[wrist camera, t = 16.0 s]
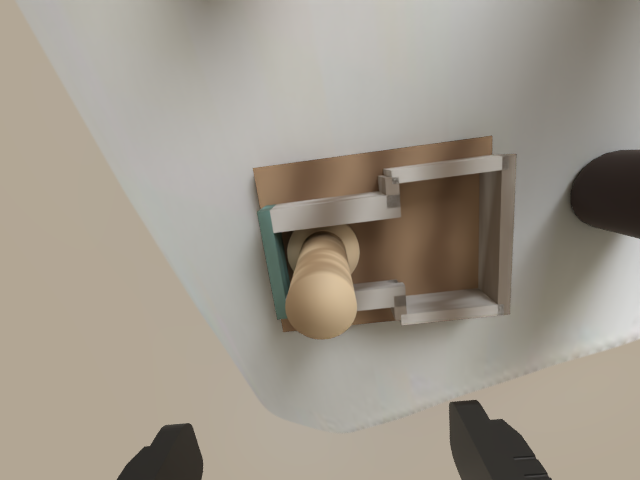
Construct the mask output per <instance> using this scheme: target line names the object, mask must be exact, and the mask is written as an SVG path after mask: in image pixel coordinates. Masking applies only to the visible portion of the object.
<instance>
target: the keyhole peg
mask: <svg viewBox="0 0 640 480" xmlns="http://www.w3.org/2000/svg"><path fill="white" fill-rule="evenodd" d="M359 255H360V249H359V243H358V240H357V238H356V235H355V233H354V232H353V230H352V229H351V227H350V226H349V225H348V224H342V225H334V226H326V227H318V228H310V229H302V230H294V232H293V233H292V235H291V237H290V240H289V243H288V247H287V256H288V261H289V264H290V266H291V268H292V270H293V271H294V274H293V278H292V281H291V284H290V288H289V291H288V295H287V298H286V303H285V310H286V315H287V318H288V320H289V322H290V323H291V325H292V326H293V327H294V328H295V329H296V330H297V331H298V332H299V333H301V334H303V335H305V336H307V337H310V338H314V339H330V338H333V337H336V336H339V335H340V334H342V333H344V332H345V331H346V330H347V329H348V328H349V327H350V326H351V325H352V323H353V321H354V319H355V317H356V313H357V302H356V297H355V292H354V287H353V282H352V277H351V274H352V273H353V271H354V270H355V268H356V266H357V264H358V261H359Z"/></svg>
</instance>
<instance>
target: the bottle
mask: <svg viewBox="0 0 640 480" xmlns="http://www.w3.org/2000/svg"><path fill="white" fill-rule="evenodd" d="M571 205H572V207H573V210H574V213H575V214H576V215H577V216H578V218H579V219H580V220H581V221H583V222H584V223H586V224H588V225H590V226H593V227H596V228H600V229H604V230H608V231H612V232H616V233H620V234H624V235H628V236H631V237H635V238H639V239H640V150H620V151H615V152H610V153H606V154H604V155H602V156H600V157H598V158H596V159H594V160H592V161H591V162H590V163H589V164H588V165H587V166H586V167H584V168H583V169H582V171H581V172H580V174H579V175H578V177H577V178H576V180H575V182H574V185H573V188H572V191H571Z"/></svg>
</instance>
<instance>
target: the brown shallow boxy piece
mask: <svg viewBox="0 0 640 480" xmlns="http://www.w3.org/2000/svg"><path fill="white" fill-rule="evenodd" d="M516 155H517V154H497V155H492V136H486V137H479V138H472V139H464V140H457V141H450V142H442V143H435V144H428V145H420V146H413V147H405V148H398V149H391V150H383V151H376V152H369V153H361V154H354V155H347V156H339V157H332V158H325V159H317V160H310V161H303V162H295V163H288V164H281V165H273V166H266V167H258V168H253V172H254V177H255V182H256V188H257V193H258V198H259V204H260V210H259V211H258V212H257V215H258V220H259V225H260V231H261V236H262V241H263V246H264V252H265V257H266V262H267V268H268V273H269V278H270V283H271V289H272V294H273V299H274V305H275V310H276V315H277V320H278V319H281V322H282V328H283V332H289V331H297V330H296V329H295V328H294V327H293V326H292V325H291V323H290V322H289V320H288V318H287V315H286V310H285V303H286V298H287V295H288V291H289V288H290V284H291V281H292V278H293V274H294V271H293V270H292V268H291V266H290V264H289V261H288V256H287V247H288V243H289V240H290V237H291V235H292V233H293V232H294V230H302V229H310V228H318V227H326V226H334V225H342V224H348V225H349V226H350V227H351V229H352V230H353V232H354V233H355V235H356V238H357V240H358V243H359V249H360V255H359V261H358V264H357V266H356V268H355V270H354V271H353V273H352V274H351V277H352V282H353V287H354V292H355V297H356V302H357V313H356V317H355V319H354V321H353V323H352V325H356V324H366V323H375V322H385V321H400V323H401V325H410V324H420V323H430V322H440V321H449V320H459V319H469V318H478V317H488V316H498V315H508V314H510V298H511V274H512V250H513V227H514V203H515V179H516Z"/></svg>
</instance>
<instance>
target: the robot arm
mask: <svg viewBox="0 0 640 480" xmlns="http://www.w3.org/2000/svg"><path fill="white" fill-rule="evenodd" d="M449 420H450V445H451V450H452V455H453V458H454V462H455V464H456V467H457V470H458V472H459V475H460V477H461V479H462V480H552V479H551V478H549V477H548V474H547V472H546V470H545V469H544V467H543V466H542V465H541V463H540V462H539V461H538V460H537V459H536V457H535V454H534V453H533V451H532V450H531V449H530V447H529V446H528V444H527V443H526V441H525V440H524V438H523V437H522V436H521V435H520V434H519V433H518V432H517V431H516V430H514V429H513V428H512V427H511V426H510V425H508V424H507V423H506V422H505V421H504V420H503V419H497V420H490V419H489V418H488V416H487V414H486V412H485V411H484V409H483V407H482V406H481V404H480V403H479V402H478V401H477V400H471V401H470V400H469V401H457V402H450V404H449ZM202 473H203V459H202V455H201V452H200V449H199V446H198V443H197V439H196V436H195V433H194V430H193V427H192V425H191V424H189V423H186V424H174V425H165V426H163V427H162V428H161V430H160V431H159V432H158V434H157V436H156V437H155V439H154V440H153V442H152V444H151V445H150V446H147V447H144V448H143V449H142V450H141V451H140V452H139V453H138V454H137V455H136V456H135V457H134V458H133V459H132V460H131V461H130V462H129V463H128V464H127V465H126V466H125V468H124V469H123V471H122V472H121V474H120V475H119V477H118V479H117V480H201V478H202Z"/></svg>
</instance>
